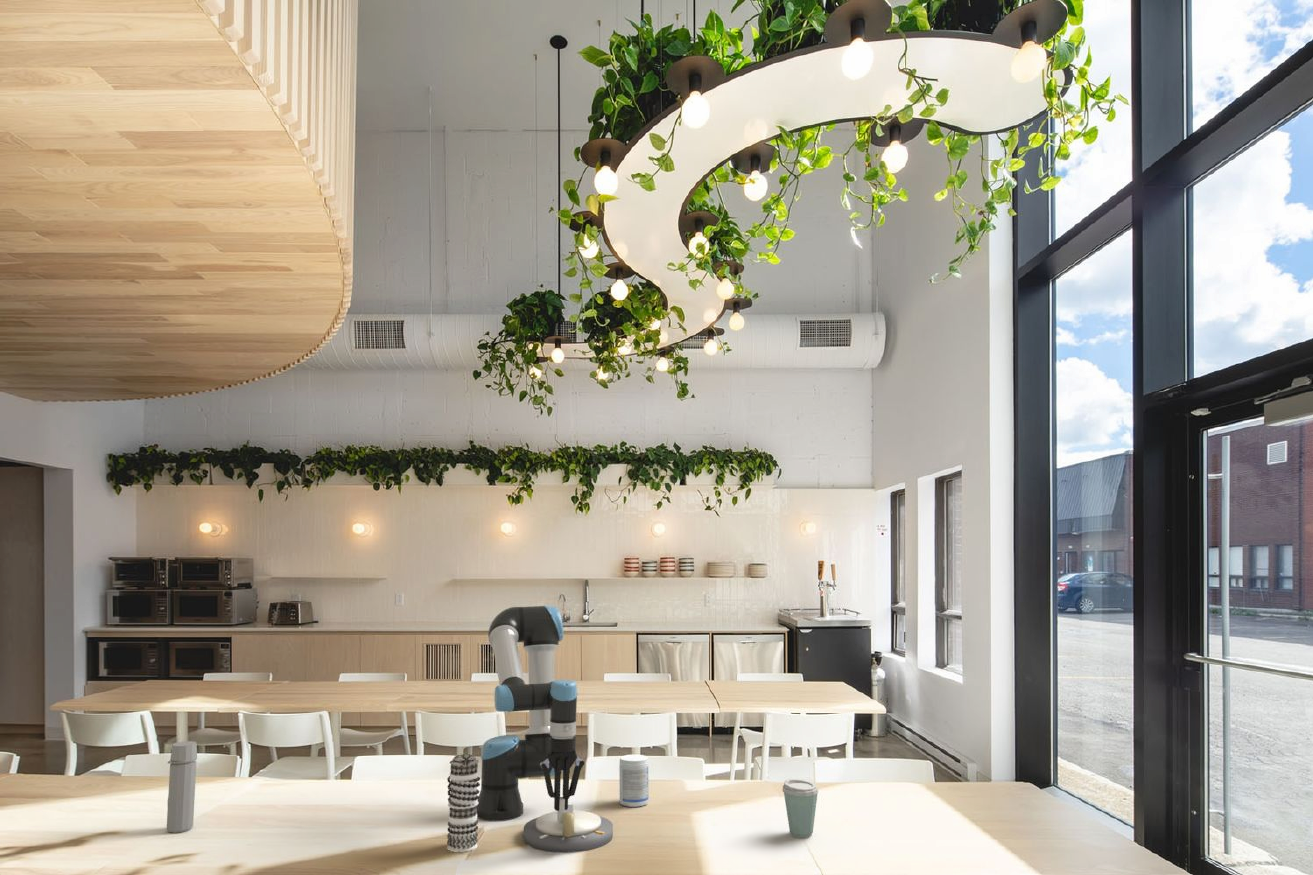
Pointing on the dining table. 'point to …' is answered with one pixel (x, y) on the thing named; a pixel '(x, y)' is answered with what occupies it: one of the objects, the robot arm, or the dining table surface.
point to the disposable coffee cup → (800, 806)
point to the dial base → (568, 838)
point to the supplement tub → (634, 780)
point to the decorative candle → (463, 803)
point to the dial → (568, 823)
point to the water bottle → (182, 787)
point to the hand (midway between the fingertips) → (560, 821)
